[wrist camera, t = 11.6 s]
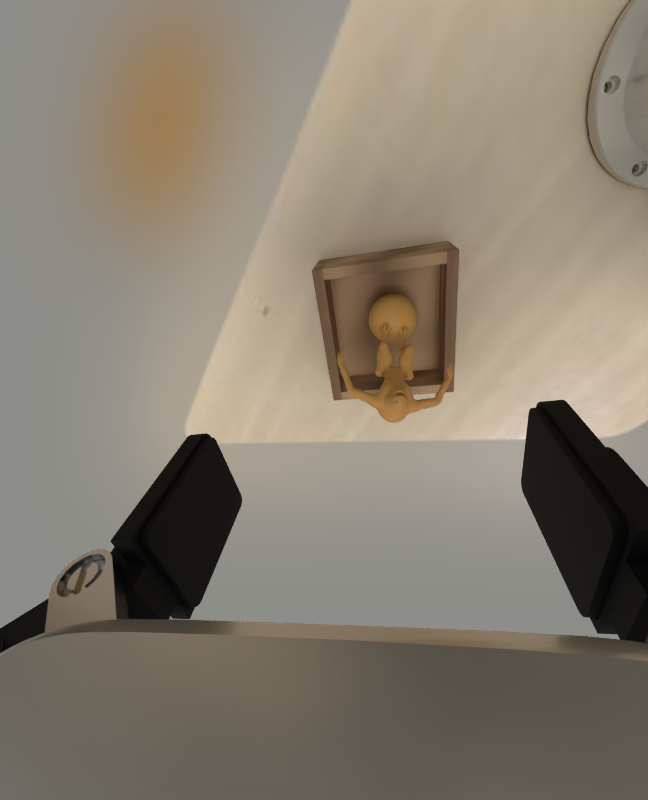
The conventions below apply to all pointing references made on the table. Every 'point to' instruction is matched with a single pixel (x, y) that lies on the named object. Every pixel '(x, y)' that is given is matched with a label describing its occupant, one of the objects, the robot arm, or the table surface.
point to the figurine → (391, 324)
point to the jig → (369, 281)
